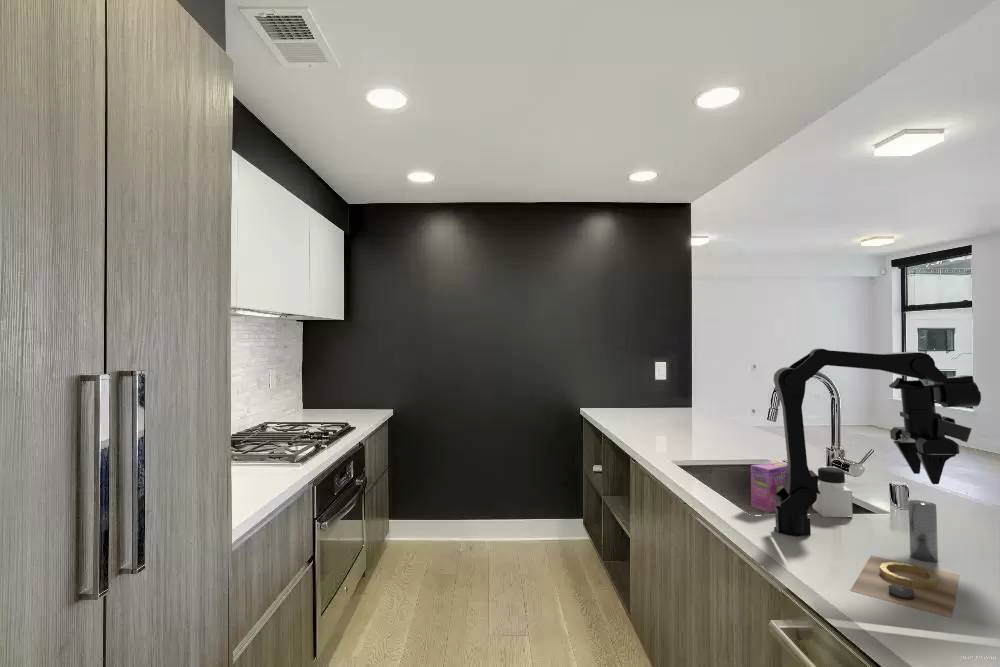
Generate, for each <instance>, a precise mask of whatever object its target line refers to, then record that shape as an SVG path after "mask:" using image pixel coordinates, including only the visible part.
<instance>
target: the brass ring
mask: <svg viewBox="0 0 1000 667" xmlns="http://www.w3.org/2000/svg"><path fill="white" fill-rule="evenodd" d="M906 563H907V562H903V563H897V562H888V563H882V564H881V565H880V567H879V569H880V574H881V575H882V576H883V577H884V578H885V579H888V580H890V581H892V582H894V583H896V584H900V585H904V586H908V587H912V588H922V589H929V588H935V587H936V586H937V584H938V577H937V576H936V575H935V574H934V573H933V572H931V571H929V570H926V569H924V568H922V567H923V566H921V567H919V566H920V565H917V566H915V565H916V564H912V565H910V564H911V563H908V564H906ZM894 570H897V571H907V572H911V573H915V574H918V575H920V576H923V577H925V578H927V579H923V580H920V579H910V578H906V577H902V576H898V575H896V574H894V573H892V572H890V571H894Z"/></svg>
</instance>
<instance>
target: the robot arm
mask: <svg viewBox="0 0 1000 667" xmlns="http://www.w3.org/2000/svg"><path fill="white" fill-rule="evenodd" d="M825 366H831V367H841V368H842V367H843V368H853V369H866V370H877V371H883V372H886V373H890V374H895V375H899V376H903V377H908V378H914V380H913V379H912V380H904V379H903V378H902V377H896V379H895V380H894V381H893V382H892V383H889V385H888V387H889V388H891V389H895V390H900V395H901V396H900V397H901V404H902V411H899V417H902V418H903V426H894V427H893V428H891V429H890V431H889V434H890V439H891V440H893V444H894V445H895V446H896V448H897V449H898V451H899V452H900V454H901V455H902V457H903V459H904V460H905V462H906V463H907V465H908V466H909V468H910V469H911V472H912V473H913V474H915V475H920V474H921V466H922V467H923V469H924V471H925V473H926V475H927V477H928V479H929V481H930V482H931V484H932V485H939V484H940V481H941V476H942V474H943V471H944V468H945V464H946V462H947V461H948V460H949V459H951V458H954V457H956V455H959V454H960V446H959V444H960V443H959V444H958V443H957V442H956V441H955V440H953V439H952V438H954V439H957V440H958V441H959V440H960V442H961V441H962V442H964V443H968V441H969V438H970V435H971V433H972V432H971V431H972V428H971V427H969V426H964V425H962V424H958V423H956V421H955V419H954V418H952V417H949V416H948V417H947V416H944V415H943V416H942V414H941V413H938V412H936V403H938V404H940V406H941V407H943V408H971V407H972V408H973V407H974V408H977V407H978V406H979V405H980V404H981V401H982V394H981V392H982V391H980V389H979V387H978V385H977V383H976V382H975V381H974V376H972V375H968V374H965V375H958V376H946V375H945V374H944V373H943V371H941V370H940V369H939V368H938V367H937V366H936V362H935V360H934V358H933V357H932V356H931V355H930V354H928V353H925V352H921V351H903V352H901V351H900V352H891V353H889V352H888V353H887V352H886V353H868V352H867V353H865V352H857V351H856V352H854V351H853V352H852V351H842V350H841V351H839V350H828V349H825V348H814V349H812V350H811V351H810V352H809V353H807V354H806V355H805V356H803V357H802V358H800V359H798V360H797V361H795V362H793V363H792V364H791V365H789V366H788V367H787V366H785V367H781V368H779V369H778V370H777V371H776V372H774V374H773V382H774V386H775V389H776V393H777V396H778V398H779V401H780V404H781V407H782V416H783V427H784V438H785V449H786V457H787V463H788V464H787V468H786V472H785V480H784V487H783V488H782V489H780V490H779V491H778V492H777V493H776V494H774V496H775V499H776V501H777V503H778V504H779V506H775V511H774V512H775V526H774V527H773V530H774V531H775V533H776V534H777V533H778V534H781V535H786V536H791V537H803V536H806V537H807V536H811V535H812V534H811V531H812V530H811V529H812V528H811V527H812V526H811V517H809V515H808V511H809V509H810V506H813V503H815V502H816V500H817V493H818V494H820V492H819V490H818V483H819V482H818V474H816V473H815V471H813V469H809V466H808V457H807V447H806V437H805V426H804V417H803V403H804V398H805V395H806V394H805V392H806V384H807V381H809V380H810V379H812V378H813V377H814V376H815V375H817V373H818V372H819V371H821V369H822V368H824V367H825ZM919 379H920V380H919ZM922 381H927V382H932V383H930V384H929V383H928V384H927V383H923V382H922ZM935 402H936V403H935ZM950 437H951V439H950Z"/></svg>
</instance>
